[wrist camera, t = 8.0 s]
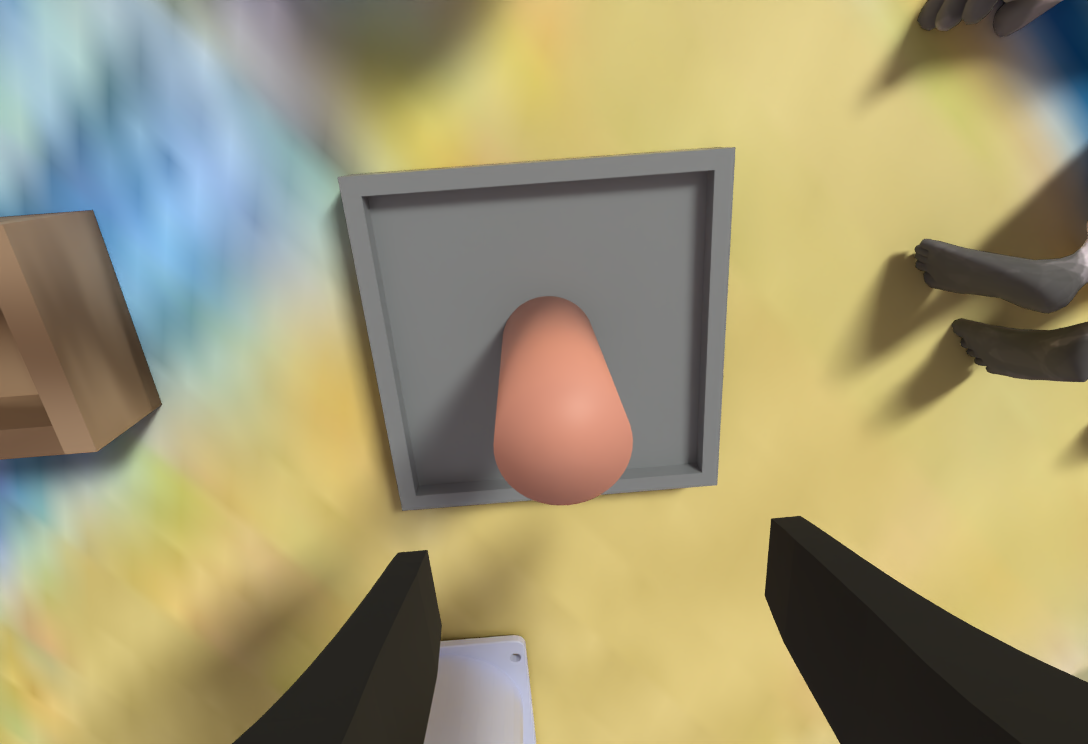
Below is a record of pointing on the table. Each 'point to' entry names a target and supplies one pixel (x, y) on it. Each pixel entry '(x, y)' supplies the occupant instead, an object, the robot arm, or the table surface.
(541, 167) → the tray
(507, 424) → the pink rounded capsule
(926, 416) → the table surface
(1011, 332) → the yeti figurine
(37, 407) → the holder
